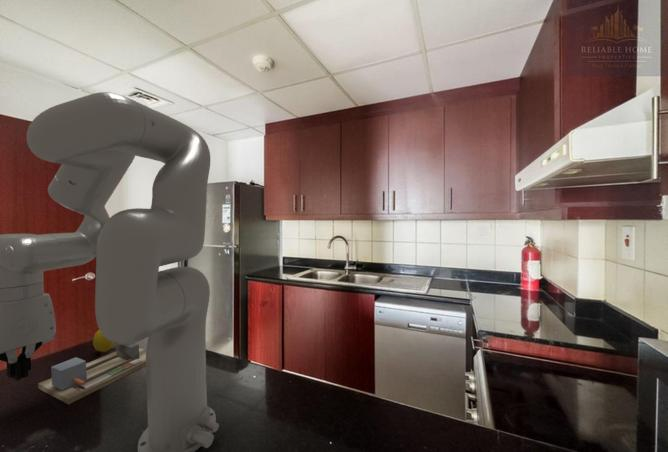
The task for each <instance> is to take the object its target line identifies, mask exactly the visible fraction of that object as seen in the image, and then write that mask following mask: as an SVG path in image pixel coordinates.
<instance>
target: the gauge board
mask: <svg viewBox="0 0 668 452" xmlns="http://www.w3.org/2000/svg"><path fill="white" fill-rule="evenodd" d="M115 347H116V351H112V352H111V353H109V354H106V355H104V356H101V357H99V358H96V359H94V360H92V361H90V362H86V375H87V379H85V380H83V381H85V384H84V385H79V384H77V383H76V384H74V385H72V386H70V387H68V388H66V389H64V390H60V389H58V388H56V387H54V386H52V377H51V378H48V379H45V380H43V381H41V382H39V383H37V388H38V389H39V390H40V391H42V392H44V393H46V394H48V395H50V396H51V397H53V398H56V399H57V400H59V401H61V402H63V403H65V404H67V405H71V404H73V403H74V402H76V401H78V400H80V399H82V398H84V397H86V396H89V395H91V394H93V393H94V392H96V391H98V390H101V389H102V388H104V387H106V386H108V385H111V384H113V383H114V382H117V381H118V380H120V379H122V378H124V377H127V376H128V375H130V374H132V373H134V372H136V371H138V370H140V369H142V368H144V367H146V349H143V348H140V343H137V342H135V343H131V344H123V345H121V344H115Z"/></svg>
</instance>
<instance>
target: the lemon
mask: <svg viewBox="0 0 668 452" xmlns="http://www.w3.org/2000/svg"><path fill="white" fill-rule="evenodd" d="M92 345H93V348H94V349H95V350H96V351H98V352H103V353H108V352H109V350H111V349H113V348H114V347H115V346H116V344H115V343H112V342H110V341H109V340H107V339H106V338H105V337H104V336H103V335H102V333H101V332H100V330H99V329H98V330H97V331H96V332H95V333H94V336H93V338H92Z"/></svg>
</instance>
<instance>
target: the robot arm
mask: <svg viewBox="0 0 668 452" xmlns="http://www.w3.org/2000/svg"><path fill="white" fill-rule="evenodd" d="M26 143H27V147H28V149H29V150H30V152H32V154H34V156H36V157H37V158H38V159H40V160H42V161H46V162H50V163H56V164H61V165H60V167H59V168H58V170H57V172H56V173H55V175H54V177H52V179H51V182H50V183H49V185H48V187H47V193H48V196H49V197H50V198H51V199H52V200H53V201H54V202H56V203H57V204H59V205H60V206H62V207H64V208H66V209H68V210H70V211H73V212H76V213H78V214H80V215H83V216H84V217H83V220H82V222H81V224H80V225H79V226H78V228H77V229H76V230H75V232H59V233H58V232H57V233H44V234H34V233H5V234H3V233H2V234H0V361H1V362H5V363H6V376H7V377H8V378H11V379H13V380H14V381H16V382H17V381H20V380H21V379H23V378H24V379H25V378H27V377H29V371H31V370H32V357H33V356H34V354H35V352H36V351H37V350H39V349H40V347H42V346H43V345H45V344H47V343H49V342H51V341H53V340H54V339H55V335H56V333H57V325H56V317H55V316H56V315H55V311H54V305H53V301H52V298H51V295H50V293H45V292H44V289H45V288H44V272H46V271H52V270H58V269H59V270H60V269H65V268H69V267H76V266H82V265H86V264H87V263H90V262H91V261H92V260H94V259H95V260H96V261H95V262H96V263H95V265H96V266H95V296H94V314H95V319H96V325H97V328H98V330H100V332H101V333H102V335H103V336H104V337H105V338H106V339H107V340H109V341H110V342H112V343H115V345H116V344H121V345H123V344H131V343H137V342H140V341H143V340H145V339H147V341H146V347H145V348H146V349H145V350H146V366H145V374H146V376H145V377H146V400H147V401H146V404H147V405H146V407H147V427H146V429H145V430H143V432H142V434H141V435H140V437H139V439H138V442H137V452H196V451H197V450H198V449H199V448H201V447H203V448H204V449H208V448H209V447H211V445H212V444H213V441H215V440H214V439H215V435H214V434H213V433H216V432H217V431H218V429H219V426H220V424H219V423H218V422H217V417H216V415H217V414H216V413H215V410H214V409H212V408H211V407H210V406H208V401H207V400H208V396H207V393H208V392H207V388H208V387H207V357H206V356H207V353H206V352H207V351H206V349H207V347H206V346H207V345H206V344H207V342H206V331H207V330H206V328H207V326H206V325H207V316H208V310H209V303H210V296H211V290H210V289H211V288H210V284H209V281H208V278H207V277H206V276H205V274H204V273H203V272H202V271H200V270H199V269H197V268H196V267H195V268H194V267H192V266H177V267H172V268H168V269H167V268H166V269H164V270H160V267H163V266H168V265H170V264H171V265H172V264H176V263H180V262H184V261H188V260H190V259H193V258H195V257H196V256H198V255H199V254H200V252H201V251H202V250H203V247H204V244H205V237H206V236H205V233H206V215H207V192H208V181H209V176H210V169H211V152H210V148H209V145H208V144H207V141H206V140H205V138H204V137H203V136H202V135H201V134H200V133H199V132H197V130H195V129H193V128H192V127H191V126H188V125H187V124H185V123H184V122H181V121H179V120H177V119H175V118H173V117H170V116H169V115H168V114H165V113H162V112H160V111H157V110H155V109H153V108H151V107H149V106H146V105H145V104H142V103H141V102H138V101H136V100H135V99H132V98H130V97H127V96H125V95H123V94H122V95H121V94H119V93H115V92H110V91H109V92H108V91H105V92H104V91H101V92H96V93H91V94H88V95H84V96H82V97H79V98H74V99H72V100H69V101H65V102H62V103H59V104H56V105H54V106H51V107H48V108H47V109H45V110H44V111H42V112H41V113H39V114H38V115H37V116H35V117H34V119H33V120H32V121H31V122H30V124H29V126H28V128H27V132H26ZM135 157H140V158H142V159H143V158H144V159H149V160H153V161H157V162H161V163H163V166H162V167H161V168H159V170H158V172H157V174H156V175H155V178H154V179H153V183H152V189H151V191H152V192H151V193H152V195H151V206H150V208H144V207H143V208H141V207H138V208H129V209H128V208H127V209H124V210H121V211H119V212H116V213H115V214H112V215H111V216H109V215H110V214H109V213H108V211H107V209H106V204H107V203H108V201H109V199H110V198H111V196H112V194H114V192H115V190H116V189H117V187H118V186H119V184H120V182H121V181H122V179H123V178H124V176H125V174H126V173H127V171H128V170H129V168H130V166H131V165H132V163H133V161H134V160H135ZM18 349H20V353H19V355H17V352H16V350H18Z"/></svg>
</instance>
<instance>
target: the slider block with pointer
mask: <svg viewBox="0 0 668 452" xmlns="http://www.w3.org/2000/svg"><path fill="white" fill-rule="evenodd" d="M86 364H87V361H86V360H84V359H82V358H79V357H77V356H75V357H73V358H70V359H68V360H65V361H63V362H60V363H58V364H55V365H52V366H51V367H50V368H51V369H50V371H51V378H52V386H54V387H56V388H58V389H60V390H64V389H66V388H68V387H70V386H72V385H74V384H76V383H77V384H79V385H84V384H85V381H83V380H85V379H87V375H86Z"/></svg>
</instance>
